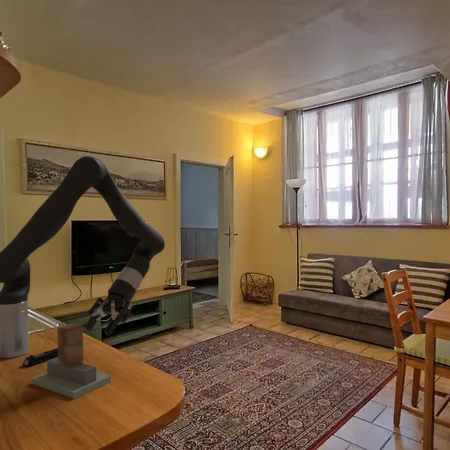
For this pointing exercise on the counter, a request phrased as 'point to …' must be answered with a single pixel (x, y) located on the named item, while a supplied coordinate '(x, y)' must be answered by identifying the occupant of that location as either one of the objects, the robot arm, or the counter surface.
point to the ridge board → (69, 385)
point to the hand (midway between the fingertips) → (96, 331)
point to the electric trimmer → (40, 357)
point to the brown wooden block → (70, 345)
